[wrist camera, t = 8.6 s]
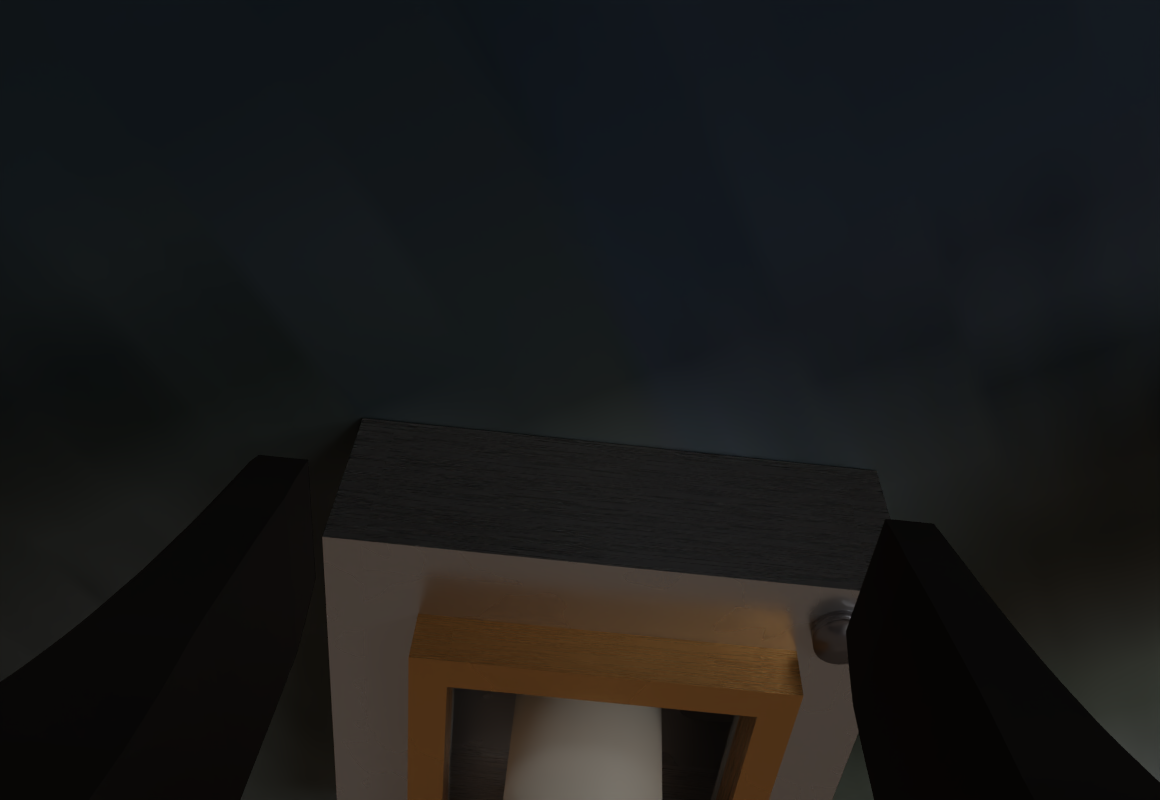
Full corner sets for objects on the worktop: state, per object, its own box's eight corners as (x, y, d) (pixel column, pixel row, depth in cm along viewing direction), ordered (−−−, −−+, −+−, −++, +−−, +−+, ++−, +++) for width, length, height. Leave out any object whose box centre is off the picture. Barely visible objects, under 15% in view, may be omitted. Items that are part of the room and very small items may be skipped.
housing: (876, 471, 25) (924, 641, 21) (773, 780, 32) (794, 954, 28) (362, 418, 25) (307, 579, 21) (370, 742, 32) (330, 912, 28)
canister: (689, 636, 28) (697, 874, 23) (603, 703, 30) (592, 939, 25) (573, 567, 27) (554, 802, 22) (490, 640, 29) (454, 875, 24)
